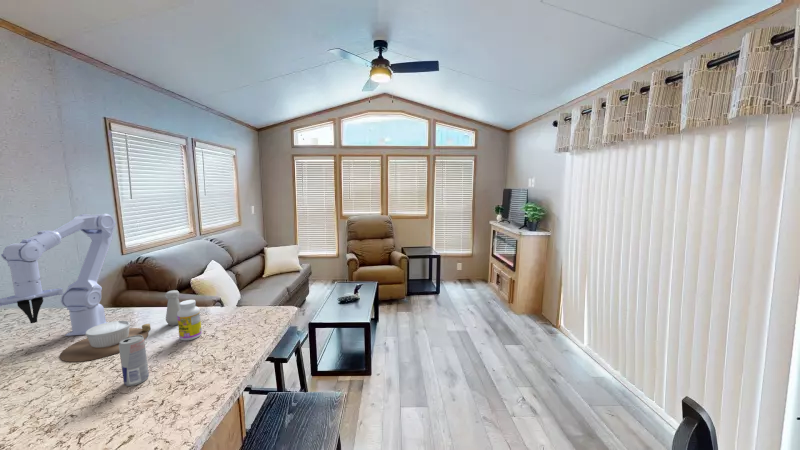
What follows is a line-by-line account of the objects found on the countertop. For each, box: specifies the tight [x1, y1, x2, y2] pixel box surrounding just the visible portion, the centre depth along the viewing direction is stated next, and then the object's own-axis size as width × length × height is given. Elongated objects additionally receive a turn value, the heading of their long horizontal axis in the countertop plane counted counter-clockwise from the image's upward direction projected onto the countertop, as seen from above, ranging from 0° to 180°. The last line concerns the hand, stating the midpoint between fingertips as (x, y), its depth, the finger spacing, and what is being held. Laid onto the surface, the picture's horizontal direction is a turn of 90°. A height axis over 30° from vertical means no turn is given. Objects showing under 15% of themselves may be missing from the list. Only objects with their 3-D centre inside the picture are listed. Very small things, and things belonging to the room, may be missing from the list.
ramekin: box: [85, 320, 131, 348], centre depth 109 cm, size 11×11×5 cm
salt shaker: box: [165, 289, 181, 327], centre depth 123 cm, size 6×6×13 cm
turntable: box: [59, 323, 151, 363], centre depth 108 cm, size 22×22×2 cm
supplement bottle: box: [177, 299, 203, 342], centre depth 112 cm, size 7×7×13 cm
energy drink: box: [119, 335, 150, 387], centre depth 87 cm, size 5×5×12 cm
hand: (33, 322), depth 102 cm, fingers closed
